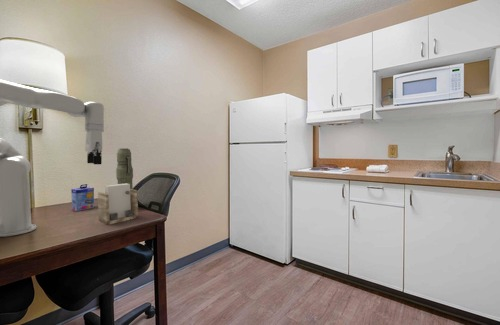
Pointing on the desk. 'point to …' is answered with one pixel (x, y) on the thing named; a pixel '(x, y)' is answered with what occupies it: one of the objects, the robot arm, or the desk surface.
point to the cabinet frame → (104, 213)
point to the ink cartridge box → (82, 198)
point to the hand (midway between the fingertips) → (94, 163)
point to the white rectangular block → (118, 199)
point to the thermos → (124, 167)
